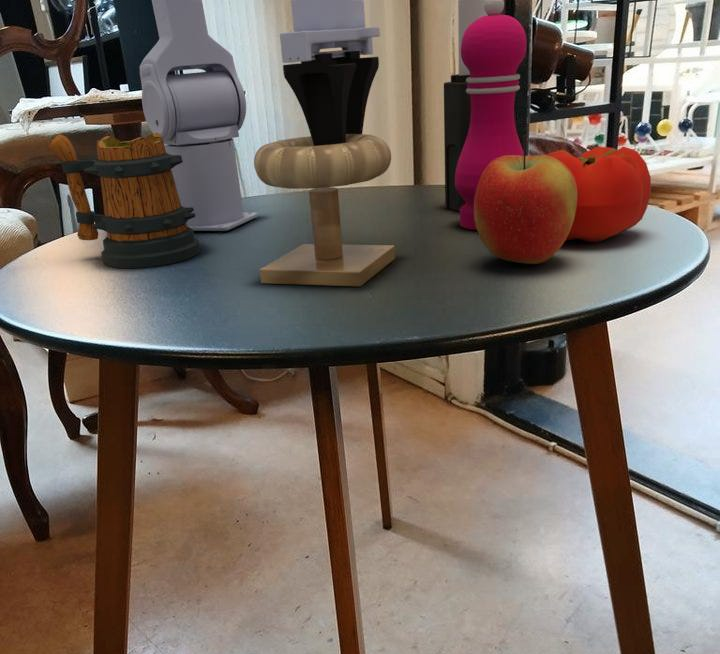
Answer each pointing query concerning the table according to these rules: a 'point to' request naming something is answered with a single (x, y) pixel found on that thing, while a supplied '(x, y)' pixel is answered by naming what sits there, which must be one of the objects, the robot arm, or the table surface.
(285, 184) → the ring
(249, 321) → the table surface
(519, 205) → the apple
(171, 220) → the mug
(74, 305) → the table surface
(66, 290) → the table surface
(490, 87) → the pepper mill
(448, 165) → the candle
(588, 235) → the tomato
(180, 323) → the table surface
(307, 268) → the peg stand
